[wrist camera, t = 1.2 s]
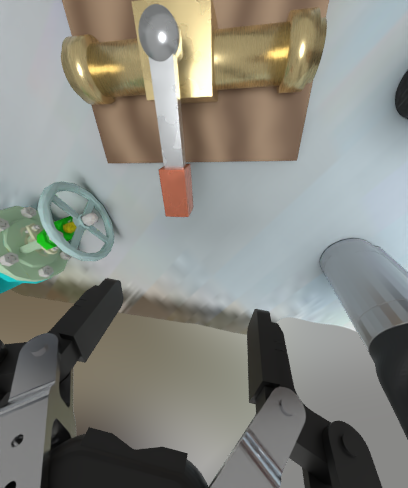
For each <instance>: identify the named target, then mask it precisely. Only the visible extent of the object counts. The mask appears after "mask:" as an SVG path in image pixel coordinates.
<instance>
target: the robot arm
mask: <svg viewBox="0 0 408 488" xmlns="http://www.w3.org/2000/svg"><path fill="white" fill-rule="evenodd" d="M320 266H321V268H322V270H323V272H324V274H325V276H326V277H327V279H328V281H329V283H330V285H331V286H332V288H333V290H334V292H335V294H336V295H337V297H338V299H339V301H340V302H341V304H342V306H343V308H344V309H345V311H346V313H347V315H348V317H349V318H350V320H351V322H352V324H353V325H354V327H355V329H356V331H357V332H358V334H359V336H360V338H361V339H362V341H363V343H364V345H365V346H366V348H367V350H368V352H369V353H370V355H371V357H372V359H373V361H374V363H375V367H376V373H377V376H378V379H379V382H380V384H381V386H382V388H383V390H384V392H385V394H386V396H387V398H388V400H389V402H390V404H391V406H392V408H393V410H394V412H395V414H396V416H397V418H398V420H399V422H400V424H401V427H402V429H403V430H404V433H405V435H406V437H407V439H408V272H407V271H406V270H405V269H404V268H403V267H402V266H400V265H399V264H398V263H397V262H396V261H395V260H394V259H393V258H392V257H390V256H389V255H388V254H387V253H386V252H385V251H384V250H383V249H381V248H380V247H376V246H373V245H372V244H370V243H369V242H367V241H365V240H362V239H346V240H342V241H339V242H337V243H335V244H333V245H331V246H330V247H329V248H328V249H326V250H325V252H324V253H323V254H322V257H321V259H320ZM122 303H123V293H122V287H121V282H120V281H118V280H114V279H109V278H106V279H105V280H104V281H103V282H102V283H101V284H100V285H99V286H96V285H95V286H93V287H92V288H90V289H89V290H87V291H86V292H85V293H84V294H83V295H82V296H81V297H80V298H79V300H77V302H76V303H75V304H74V306H72V307H71V308H70V309H69V310H68V311H67V313H66V314H65V315H64V316H63V317H62V318H61V319H60V320H59V321H58V322H57V323H56V325H55V326H54V327H53V328H52V329H51V330H50V331H49V332H48V333H46V334H41V335H38V336H36V337H34V338H32V339H31V340H29V341H28V342H24V343H14V344H5V345H4V344H3V343H2V341H1V340H0V488H279V487H280V484H281V474H282V472H283V469H284V467H285V465H286V463H287V461H288V458H290V459H292V460H293V461H294V462H296V463H297V464H299V465H300V466H301V467H302V470H303V477H304V485H305V488H382V486H381V483H380V480H379V477H378V474H377V471H376V469H375V465H374V463H373V460H372V457H371V454H370V451H369V449H368V447H367V445H366V443H365V441H364V440H363V438H362V437H361V435H360V434H359V433H358V432H357V431H356V430H355V429H354V428H353V427H351V426H350V425H349V424H347V423H345V422H342V421H334V422H332V423H331V422H329V421H327V420H326V419H324V418H322V417H321V416H319V415H317V414H316V413H314V412H313V411H311V410H310V409H308V408H307V407H306V406H305V405H304V404H303V403H302V401H301V400H300V399H299V397H298V395H297V393H296V391H295V389H294V385H293V380H292V375H291V370H290V365H289V359H288V355H287V349H286V345H285V340H284V334H283V332H282V330H281V328H280V327H279V325H278V324H277V323H273V322H271V318H270V313H269V312H268V311H264V310H259V309H255V310H254V312H253V315H252V318H251V320H250V323H249V326H248V331H247V345H248V380H249V403H253V404H256V415H255V417H254V418H253V420H252V421H251V423H250V424H249V426H248V428H247V429H246V431H245V432H244V434H243V435H242V437H241V438H240V440H239V441H238V443H237V444H236V446H235V448H234V449H233V451H232V452H231V453H230V455H229V457H228V458H227V459H226V461H225V462H224V464H223V466H222V467H221V468H220V470H219V472H218V473H217V475H216V476H215V478H214V479H213V481H212V482H211V484H210V486H209V487H208V485H207V483H206V481H205V479H204V477H203V476H202V474H201V473H200V472H199V471H198V469H197V468H196V467H195V466H194V465H193V464H192V463H191V462H190V461H188V460H187V453H184V452H180V451H176V450H173V449H169V448H165V447H158V448H148V449H139V450H134V449H132V448H131V447H129V446H128V445H127V444H125V443H124V442H123V441H121V440H120V439H119V438H118V437H116V436H115V435H113V434H112V433H108V432H104V431H101V430H97V429H93V428H88V431H87V432H86V434H83V435H79V436H76V422H75V417H74V412H73V367H74V365H75V364H76V362H77V361H81V362H86V361H87V359H88V358H89V356H90V354H91V353H92V351H93V350H94V348H95V347H96V345H97V344H98V342H99V341H100V339H101V337H102V336H103V334H104V333H105V331H106V330H107V328H108V327H109V325H110V323H111V322H112V320H113V318H114V317H115V316H116V314H117V313H118V311H119V310H120V308H121V306H122Z"/></svg>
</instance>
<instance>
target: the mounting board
mask: <svg viewBox="0 0 408 488" xmlns="http://www.w3.org/2000/svg"><path fill="white" fill-rule="evenodd" d="M131 1H138V0H62V2H63V6H64V9H65V13H66V16H67V20H68V23H69V27H70V30H71V34H72V36H78V35H87V34H89V35H92V36H94V37H95V38H96V39H97V40H98V41H99V42H107V41H116V40H125V39H134V38H137V34H136V27H135V21H134V15H133V8H132V2H131ZM328 3H329V0H213V4H214V8H215V13H216V18H217V23H218V29H224V28H233V27H242V26H251V25H260V24H269V23H277V22H286V21H287V17H288V15H289V12H290V11H291V10H297V9H305V8H314V7H319V8H320V11H321V18H322V17H325V18H326V13H327V8H328ZM312 83H313V80H312V82H311V83H310V84H306V85H305V87H304V88H303V90H302V91H301V92H292V93H278V92H277V86H269V87H254V88H239V89H224V90H218V101H216V102H200V103H183V104H181V112H182V124H183V136H184V148H185V160H186V162H229V161H295V160H297V157H298V152H299V147H300V142H301V137H302V132H303V127H304V122H305V117H306V112H307V107H308V103H309V98H310V93H311V88H312ZM92 108H93V112H94V115H95V119H96V123H97V126H98V130H99V133H100V137H101V140H102V144H103V147H104V151H105V154H106V158H107V162H108V163H163V156H162V149H161V142H160V135H159V128H158V121H157V113H156V106H155V102H153V101H148V100H147V97H146V95H135V96H120V97H116V98H115V101H114V102H113V103H111V104H99V105H92Z"/></svg>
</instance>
